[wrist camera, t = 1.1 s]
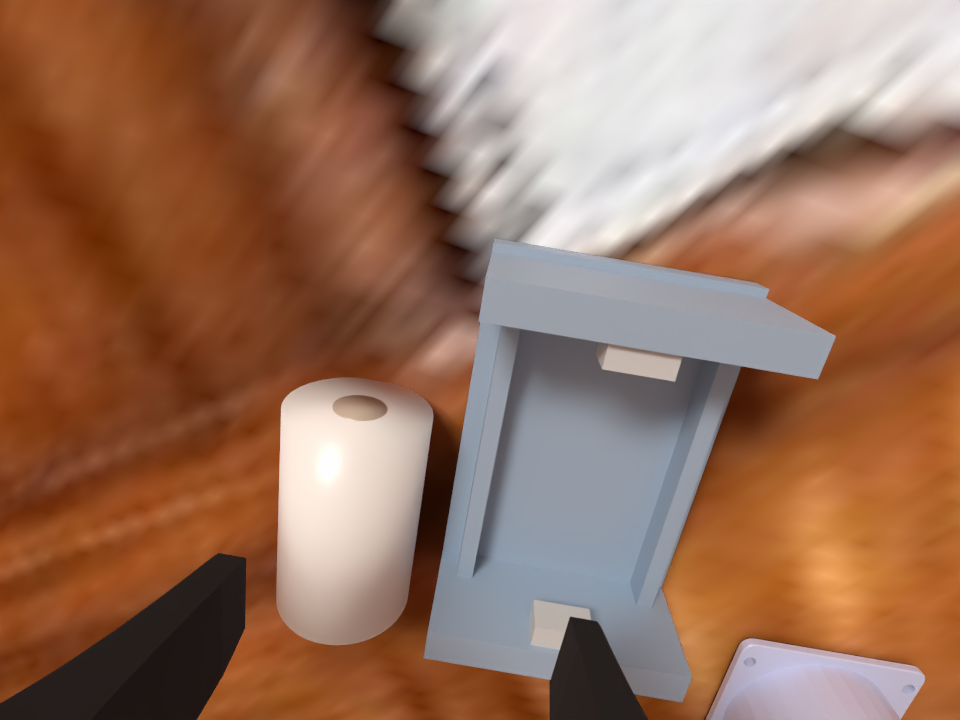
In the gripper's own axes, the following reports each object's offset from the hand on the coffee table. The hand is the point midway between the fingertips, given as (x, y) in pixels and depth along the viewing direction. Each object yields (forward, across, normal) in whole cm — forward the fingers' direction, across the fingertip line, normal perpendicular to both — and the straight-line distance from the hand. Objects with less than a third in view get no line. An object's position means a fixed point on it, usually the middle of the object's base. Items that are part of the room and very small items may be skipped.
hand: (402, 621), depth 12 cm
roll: (+10, +3, +3) cm, 11 cm away
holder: (+10, -5, 0) cm, 11 cm away
